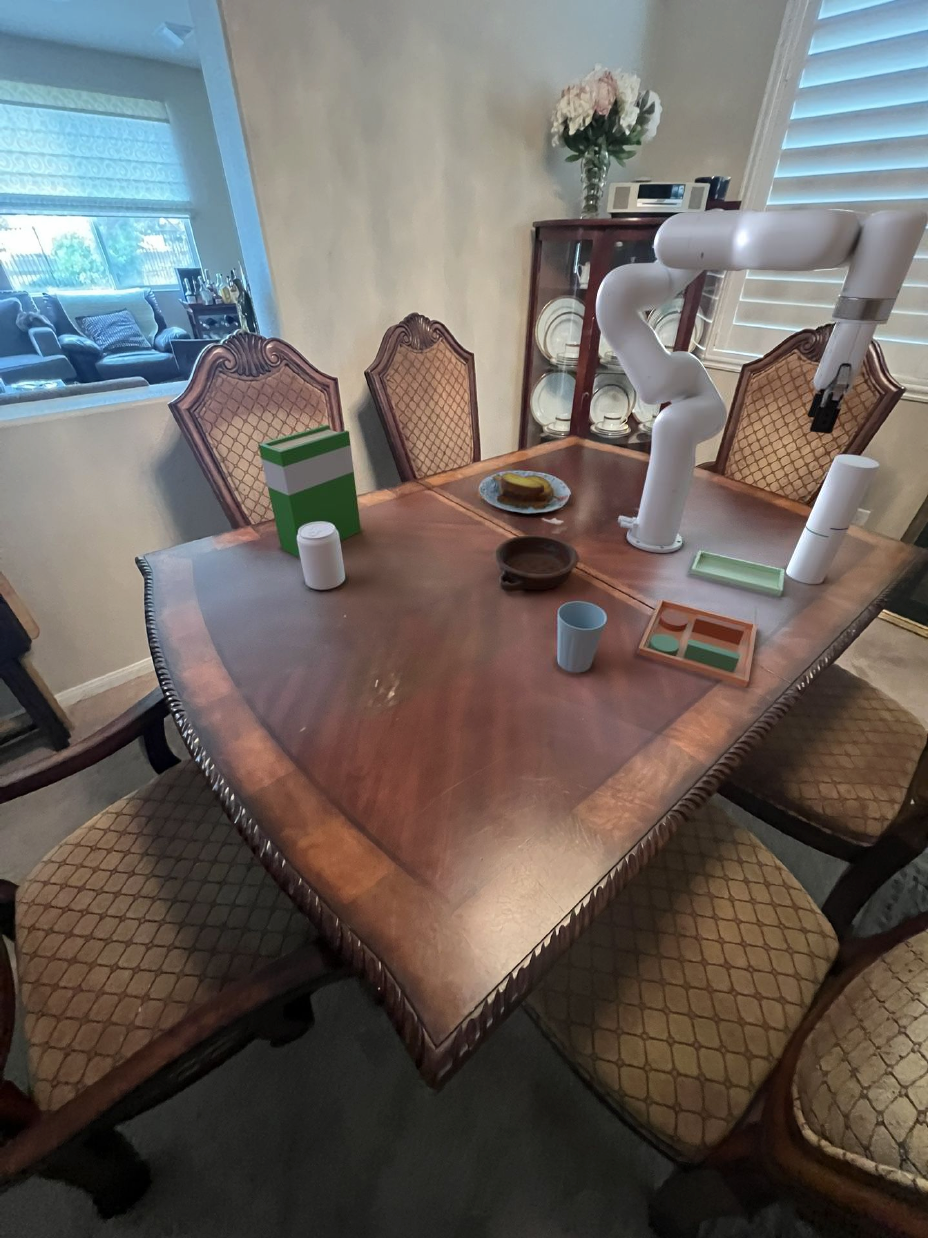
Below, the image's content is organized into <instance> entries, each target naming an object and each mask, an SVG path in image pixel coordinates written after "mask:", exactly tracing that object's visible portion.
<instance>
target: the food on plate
mask: <svg viewBox="0 0 928 1238" xmlns="http://www.w3.org/2000/svg"><path fill="white" fill-rule="evenodd" d="M477 495H478V498H479V499H480V498H481V500H484V502H486V503H487V504H489V505H491V506H493V507H496V508H497V509H502V511H503V510H505V511H510V512H513V513H514V512H517V513H521V514H537V513H548V512H553V511H555V510H558V509H559V510H560V509H561V508H563V507H564V505H565V504H566V503H567V502H568V500H569V498H570V495H572V491H571V489H570V487H568V485H567V484H566V482H564V481H563V480H562V479H560V478H558V477H557V476H554V475H551V474H548V473H544V472H540V471H539V472H537V471H533V470H520V469H519V470H505V471H499V472H497V473H492V474H491V475H489V476H486V477H485V478H484V479H483V480H482V481H480V483H479V484H478V486H477Z"/></svg>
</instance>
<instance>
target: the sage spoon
mask: <svg viewBox="0 0 928 1238" xmlns="http://www.w3.org/2000/svg"><path fill="white" fill-rule="evenodd" d="M649 648H650V649H652V650H655V651H658V652H662V653H665V654H668V655H672V656H675V655H676V654H677V653H678V650H679V642H678V641H677V640H676V639H675V638H673V637H671V636H668V635H664V634H658V635H654V636H653V637H652V638H651V640H650V643H649ZM739 657H740V654H739V653H736V652H732V651H729V650H725V649H722V648H718V647H715V646H712V645H708V644H705V643H701V642H698V641H694V640H691V639H689V641H688V644H687V647H686V650H685V653H684V657H683V658H686V659H689V660H693V661H696V662H699V663H702V664H706V665H709V666H712V667H716V668H719V669H722V670H725V671H729V672H732V673H734V670H735V668H736V666H737V663H738V661H739Z"/></svg>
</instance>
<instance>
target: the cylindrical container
mask: <svg viewBox="0 0 928 1238" xmlns="http://www.w3.org/2000/svg"><path fill="white" fill-rule="evenodd" d="M879 467H880V463H879V462H878V461H877V460H875V459H873V458H870V457H867V456H864V455H863V456H862V455H856V454H847V453H846V454H844V453H843V454H837V455H835V456H834V459H833V461H832V463H831V466H830V467H829V470H828V473H827V475H826V477H825V479H824V482H823V484H822V486H821V489H820V491H819V493H818V495H817V498H816V500H815V503H814V505H813V507H812V510H811V512H810V514H809V517H808V519H807V521H806V523H805V526H804V528H803V531H802V533H801V535H800V538H799V540H798V542H797V544H796V547H795V549H794V552H793V553H792V556H791V558H790V561H789V563H788V565H787V568H786V570H785V572H786V575H788V577H790V578H791V579H793V580H795V581H797V582H800V583H802V584H803V583H804V584H808V585H818V584H822V583H823V582H824V579H825V578H826V576H827V574H828V571H829V570H830V568H831V566H832V563H833V562H834V559H835V557H836V556H837V553H838V552H839V549H840V547H841V545H842V543H843V541H844V538H845V537H846V534H847V532H848V531H849V529H850V526H851V524H852V522H853V520H854V519H855V516H856V514H857V512H858V510H859V508H860V507H861V506H860V505H861V504H862V502H863V500H864V498H865V496H866V494H867V492H868V489H869V487H870V485H871V483H872V481H873V479H874V477H875V475H876V473H877V471H878V469H879Z"/></svg>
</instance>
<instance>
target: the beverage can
mask: <svg viewBox="0 0 928 1238" xmlns="http://www.w3.org/2000/svg"><path fill="white" fill-rule="evenodd" d="M297 543H298V548H299V553H300V558H301V559H300V558H299V559H300V561H301V566H302V572H303V577H304V582H305V585H307V586H308V587H309V588H311V589H313V590H319V591H321V590H322V591H323V590H324V591H325V590H330V589H334V588H336V587H338V586H340V585H341V584H343V582H344V581H345V580H346V573H345V566H344V560H343V559H344V558H343V552H342V547H341V545H342V544H341V541H340V538H339V533H338V531H337V530H336V528H335V526H334V525H333V524H331V523H329V522H322V521H319V522H311V523H308V524H305V525H303V526H301V527H300V528H299V530H298V535H297Z"/></svg>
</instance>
